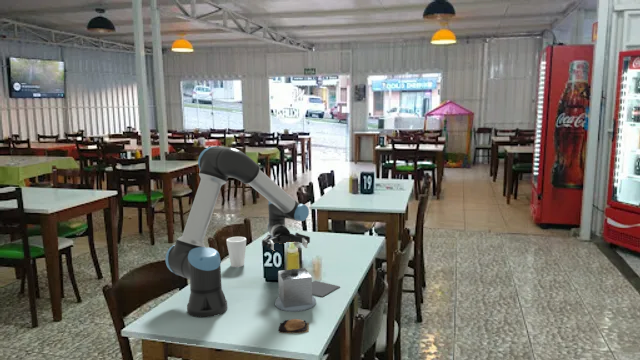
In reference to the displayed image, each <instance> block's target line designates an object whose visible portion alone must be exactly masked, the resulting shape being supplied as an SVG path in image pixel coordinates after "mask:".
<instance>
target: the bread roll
mask: <svg viewBox="0 0 640 360" xmlns="http://www.w3.org/2000/svg"><path fill="white" fill-rule="evenodd" d="M309 328H310V323H309V322H307V321H306V320H304V319H300V318H299V319H298V318H292V319H284V320H283V321H282V322H280V324H279V326H278V333H280V334H302V333H309V331H310V329H309Z"/></svg>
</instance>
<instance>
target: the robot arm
mask: <svg viewBox="0 0 640 360" xmlns="http://www.w3.org/2000/svg"><path fill="white" fill-rule="evenodd" d="M197 164H198V168H199V173H198V176H199V178H200V181H199V185H198V187H197V190H196V192H195V196H194V198H193V199H194V200H193V202H192V205H191V208H190V211H189V214H188V217H187V220H186V223H185V226H184V229H183V231H182V235H181V236H180V237H178V238H176V240H175V244H173V245H171V247H169V248H168V250H167V252H166V254H165V264H166V267H167V269H168V270H169V271H170V272H171V273H173V274H175V275H176V276H180V277H182V278H185V279H187V280H189V286H190V294H189V298H188V303H187V304H186V312H187V313H186V314H187V315H189V316H190V317H193V318H210V317H211V318H213V317H215V316H216V317H217V316H219V315H221V314H223V313H225V312H226V311H227V309H228V300H227V299H226V297H225V294H224V291H223V287H222V270H221V268H222V267H221V263H222V262H221V261H222V260H221V256H220V253H219V251H218V250H217V249H215V248H213V247H206V245H205V243H204V241H205V238H206V234H207V231H208V228H209V225H210V222H211V220H212V216H213V213H214V210H215V206H216V203H217V201H218V200H217V199H218V197H219V194H220V191H221V188H222V186H224V185H225V184H227V182H228V179H229V178H233V179H236V180H238V181H240V182H241V183H242V184H244V185H249V186H250V187H252V189H254V190H255V191H256V192H257V193H259V194H260V195H261V196H262V197H263V198H265V199H266V200H267V201H268V204H267V206H268V223H267V232H268V234H267V236H265V238H263V239H262V241H261V242H262V247H265V246H266V248H267V249H271V250H273V251H275V250H274V244H275V243H279V244H282V243H283V244H284V243H286V242H294V243H299V244H302V246H303V247H304V248H305V249H307V248H308V245H309V244H310V243H311V236H308V235H305V234H301V233H299V232H295V233H291V231H290V230H289V228H288V227H287V226H286V219H287V220H292V221H296V222H304V221H306V220H307V219H308V217H309V214H310V210H309V207H308V206H307V205H306V204H303V203H299V202H298V201H297V200H296V199H294V198H293V197H292V196H291V195H290V194H289V193H288V192H286V191H285V190H284V189H283V188H282V187H281V186H279V185H278V184H277V183H276V182H275V181H274V180H272V179H271V178H270V177H269V176H268V175H267V174H266V173H264V171H262V170H261V166H260V165H259V164H258V163H257V162H256V161H254V160H253V159H252V158H251V157H250V156H248V155H247V154H246V153H245V152H243V151H241V150H240V149H237V148H233V147H225V146H208V147H207V148H204V149H203V150H202V151H201V152H200V154H199V156H198V159H197ZM273 251H272V252H273Z"/></svg>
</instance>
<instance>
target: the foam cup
mask: <svg viewBox="0 0 640 360" xmlns="http://www.w3.org/2000/svg"><path fill="white" fill-rule="evenodd" d="M246 245H247V238H246V237H245V236H232V237H231V236H230V237H228V238H226V246H227V250H228V251H227V252H228V256H229V262H230V267H231V268H242V267H243V266H245V259H246Z"/></svg>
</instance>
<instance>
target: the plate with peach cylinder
mask: <svg viewBox="0 0 640 360" xmlns="http://www.w3.org/2000/svg"><path fill="white" fill-rule="evenodd" d="M316 304H317V299H316V297H315V296H314V295H312V304H311V305H303V306H295V307H288V308H284V306H283V304H282V302H281V300H280V298H279V296H278V297H277V298H276V299H275V301H274V306H275V307H276V308H277V309H278V310H281V311H284V312H291V313H292V312H295V313H296V312H303V311H308V310H310V309H312V308H314V307H315V306H316Z"/></svg>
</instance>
